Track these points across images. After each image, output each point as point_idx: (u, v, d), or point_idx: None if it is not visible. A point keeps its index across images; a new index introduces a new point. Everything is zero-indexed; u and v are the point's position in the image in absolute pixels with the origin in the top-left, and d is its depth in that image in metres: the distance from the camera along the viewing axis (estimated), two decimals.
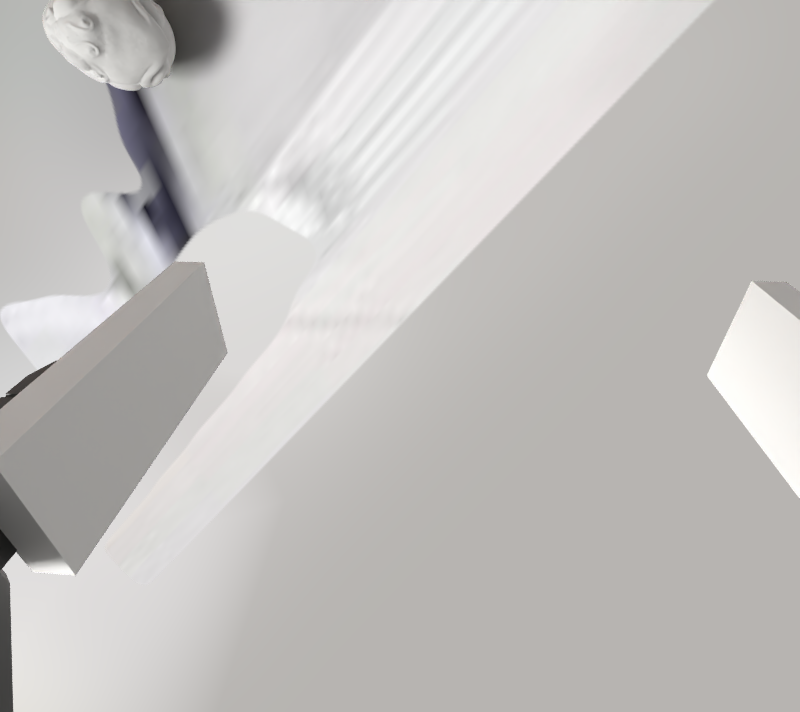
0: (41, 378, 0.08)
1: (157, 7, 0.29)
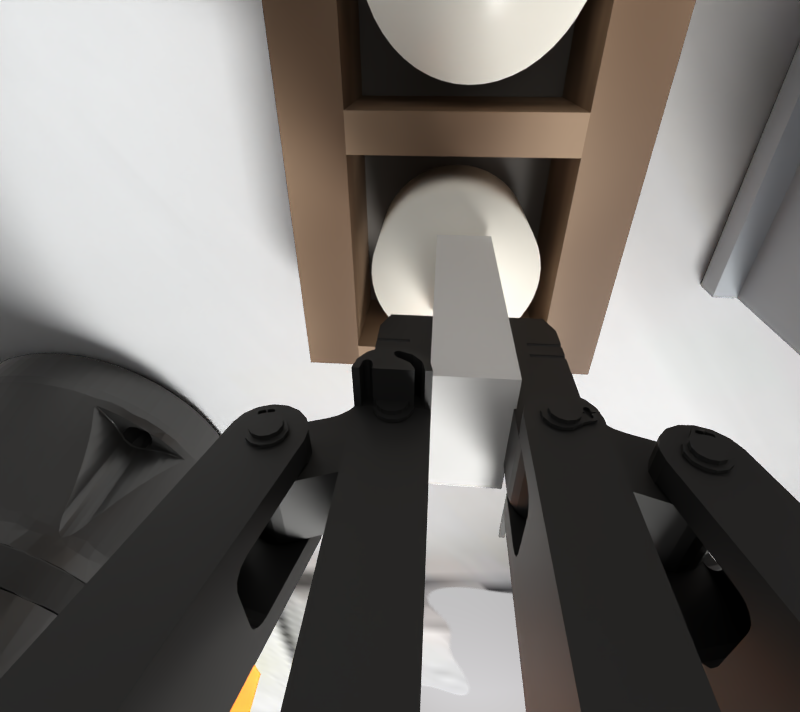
0: (437, 320, 0.09)
1: None
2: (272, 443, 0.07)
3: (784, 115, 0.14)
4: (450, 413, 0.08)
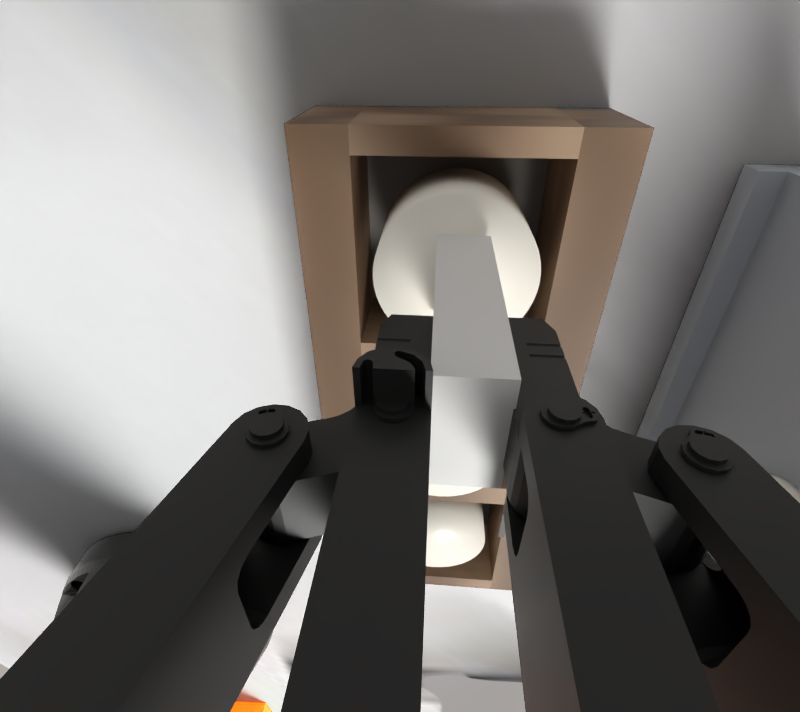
0: (438, 320, 0.09)
1: None
2: (272, 443, 0.07)
3: None
4: (451, 413, 0.08)
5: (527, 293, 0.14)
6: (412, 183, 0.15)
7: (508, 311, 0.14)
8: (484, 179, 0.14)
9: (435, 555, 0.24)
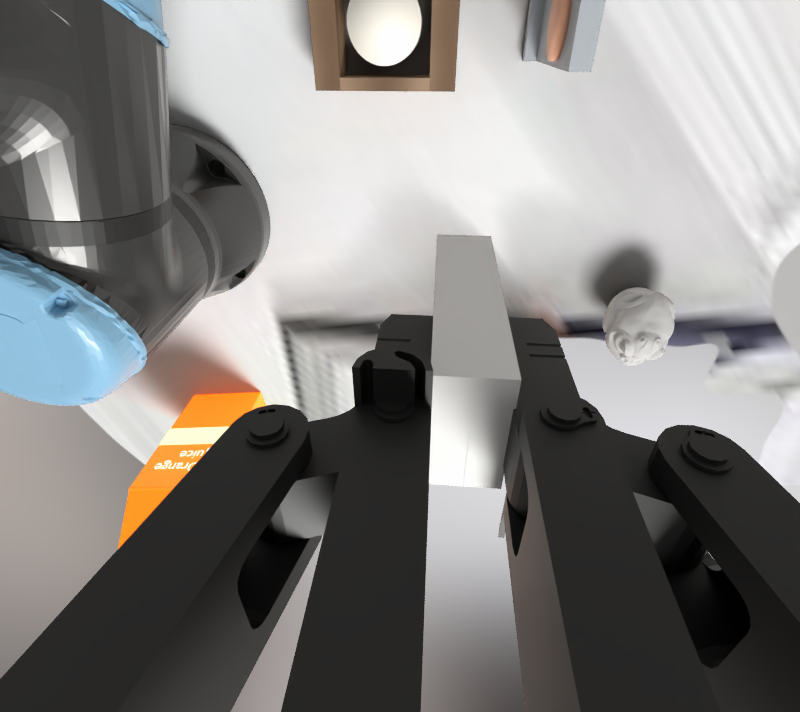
0: (438, 321, 0.09)
1: (628, 292, 0.42)
2: (272, 443, 0.07)
3: None
4: (451, 413, 0.08)
5: None
6: None
7: None
8: None
9: (385, 47, 0.32)
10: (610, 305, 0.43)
